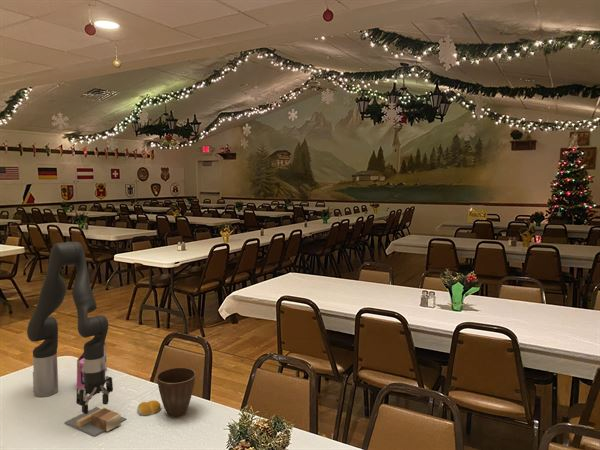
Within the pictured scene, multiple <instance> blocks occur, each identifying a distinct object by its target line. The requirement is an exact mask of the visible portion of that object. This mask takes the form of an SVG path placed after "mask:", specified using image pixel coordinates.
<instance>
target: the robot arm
mask: <svg viewBox="0 0 600 450" xmlns="http://www.w3.org/2000/svg"><path fill="white" fill-rule="evenodd" d="M51 247H52V248H51V250H50V252H49V257H48V258H49V259H48V264H47V270H46V273H45V277H44V279H43V283H42V285H41V289H40V292H39V295H38V299H37V304H36V306H35V308H34V311H33V313H32V315H31V318H30V319H29V322H28V325H27V329H26V335H27V338H28V340H29V341H31V342H36V343H37V342H41V343H40V344H39V345H37V346H35V348H33V350H32V368H33V372H32V380H33V381H32V386H33V387H32V388H33V393H34V396H35V397H37V398H38V397H39V398H43V397H44V398H45V397H50V396H53V395H55V394H56V393H58V392H59V372H58V371H59V369H58V367H59V366H58V347H59V345H58V344H59V325H58V321H57V319H56V318H55V317H54V316H50V315H52V314H53V313H54V312H55V311H56V310H57V309H58V308H59V307H60V306H61V305H62V304H63V302H64V300H65V296H66V293H67V290H68V287H67V284H66V282H65V280H64V278H63V277H62V275H61V269H62V268H63V267H66V266H73V265H74V266H75V269H76V277H75V281H74V284H73V287H72V298H73V299H72V300H73V302H74V305H75V308H76V311H77V312H76V315H77V332H78V334H79V335H80V336H81V337H82V338H85V339H86V338H90V337H93V338H92V339H91V340H89V341H86V342H85V343H84V344H83V352H84V382H85V386H84V388H81V389H80V388H78V389H77V388H76V399H75V400H76V401H75V403H76V405H79V406H81V412H82V414H83V413H84V414H88V411H89V404H88V403H89V401H90V400H91V399H92V398H93V396H96V395H97V394H100V393H102V397H101V398H102V400H101V401H102V404H103V405H105V406H107V405H108V403H109V395H110V393H112V392H113V391H114V386H113V383H114V382H113V377H112V376H108V375H107V376H106V371H105V358H104V343H106V342H105V341H106V339H107V334H108V332H109V321H108V318H107V317H106V316H105V315H103V314H101V315H95V316H91V317H88V314H91V313H92V312H94V311H95V310H97V308H98V305H97V302H96V298H95V296H94V294H93V290H92V287H91V286H92V285H91V282H90V277H89V270H88V264H87V259H86V258H87V257H86V253H85V250H84V247H83V244H82V243H80V242H78V241H67V242H66V241H65V242H57V243H54V244H53V246H51Z"/></svg>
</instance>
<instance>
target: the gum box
mask: <svg viewBox="0 0 600 450" xmlns="http://www.w3.org/2000/svg"><path fill="white" fill-rule="evenodd" d="M104 358H105V372H106V371H107V369H108V367H107V366H108V365H107V364H108V363H107V342H105V343H104ZM84 386H85V382H84V351H83V352H82V354H81V355H80V356H79V357H78V358H77V360H76V390H77V389H78V388H80V389H81V388H84Z"/></svg>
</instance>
